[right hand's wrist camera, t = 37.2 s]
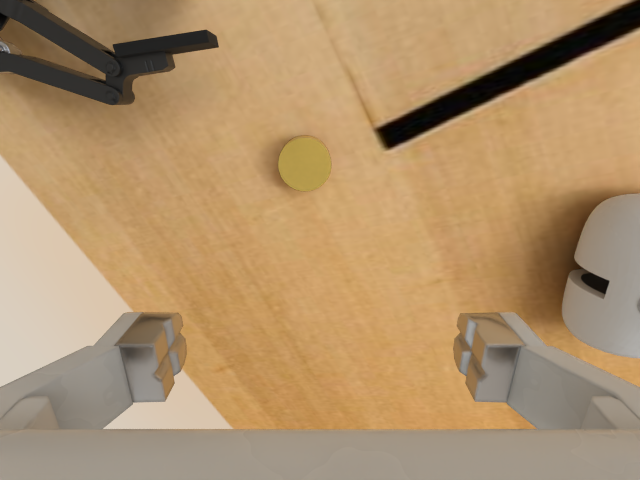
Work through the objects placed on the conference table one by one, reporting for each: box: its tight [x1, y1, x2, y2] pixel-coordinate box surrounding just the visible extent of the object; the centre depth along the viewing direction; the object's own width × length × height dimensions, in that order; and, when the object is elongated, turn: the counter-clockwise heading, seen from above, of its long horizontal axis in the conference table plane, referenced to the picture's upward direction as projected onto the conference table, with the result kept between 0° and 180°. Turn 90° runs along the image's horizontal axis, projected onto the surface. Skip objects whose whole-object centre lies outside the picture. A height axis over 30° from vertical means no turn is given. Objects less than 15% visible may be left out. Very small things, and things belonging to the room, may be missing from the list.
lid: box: [278, 135, 331, 191], centre depth 34 cm, size 5×5×2 cm
